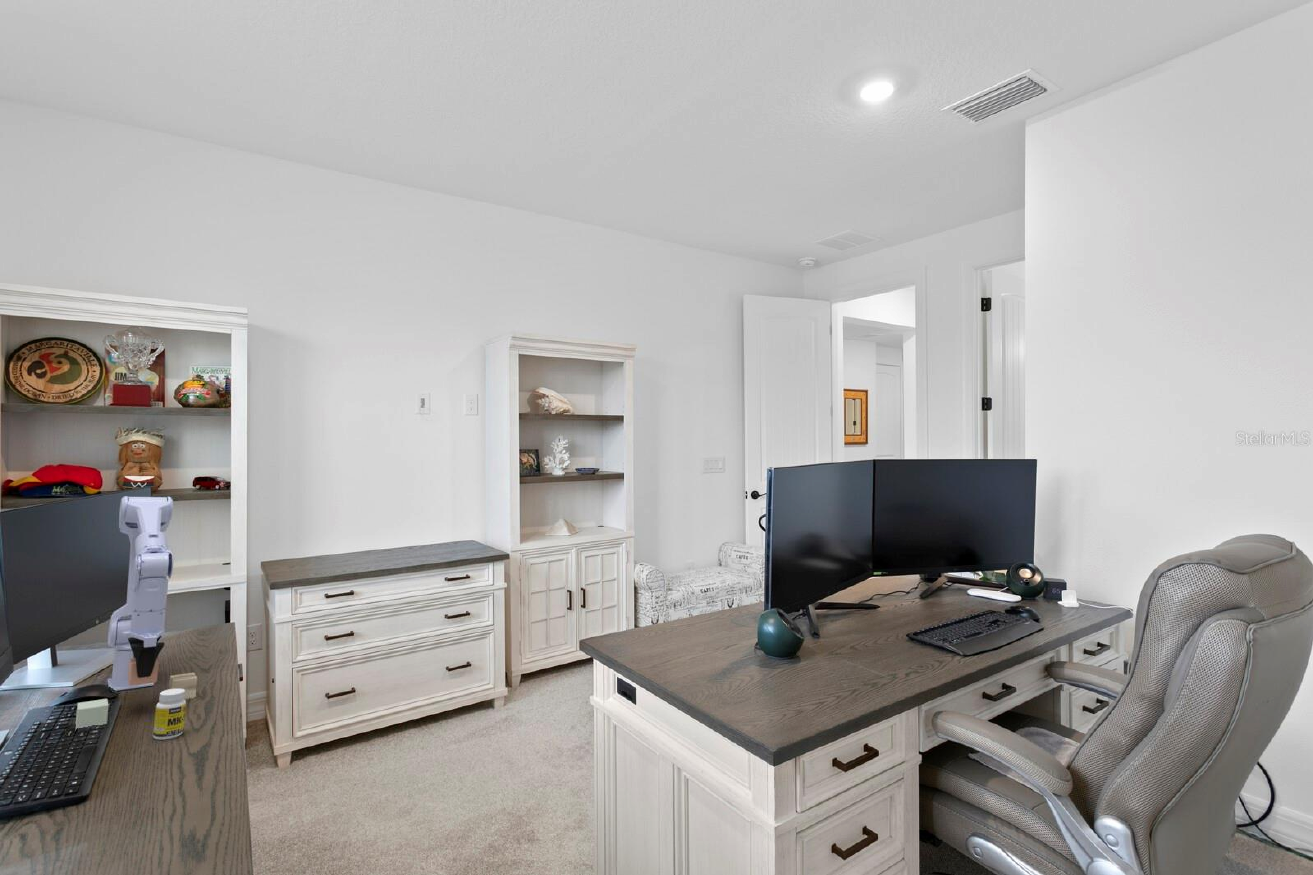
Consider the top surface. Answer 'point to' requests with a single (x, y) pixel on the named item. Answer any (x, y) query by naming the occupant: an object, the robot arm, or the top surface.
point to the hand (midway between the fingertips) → (142, 673)
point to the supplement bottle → (169, 714)
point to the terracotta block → (135, 680)
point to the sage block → (92, 713)
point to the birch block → (184, 684)
